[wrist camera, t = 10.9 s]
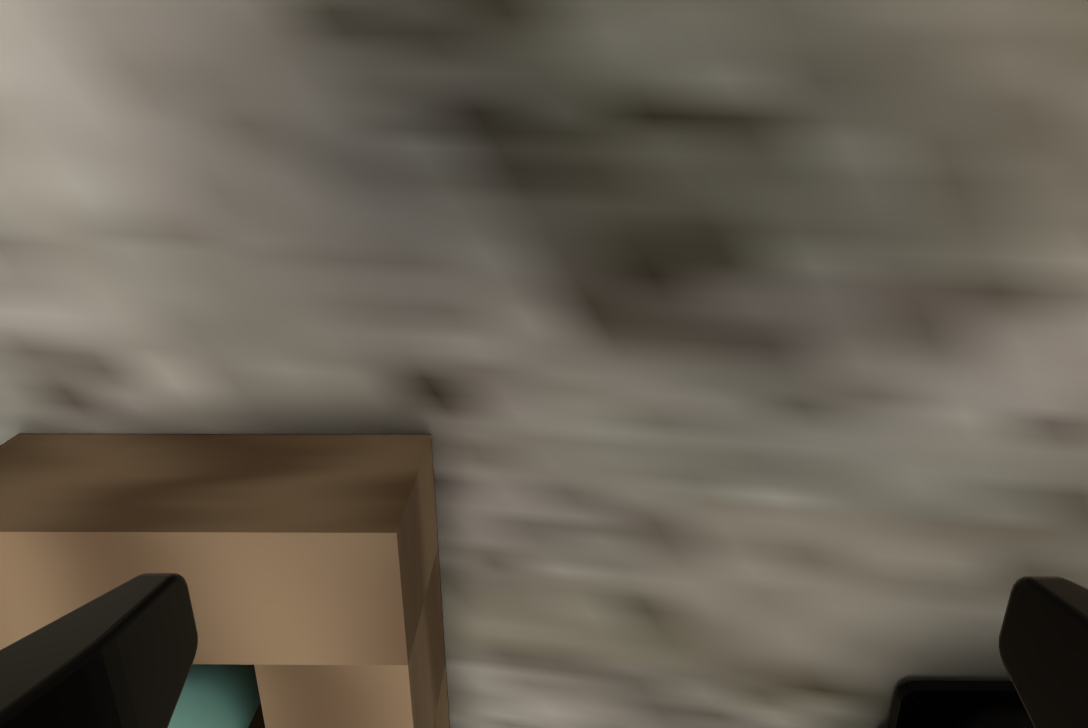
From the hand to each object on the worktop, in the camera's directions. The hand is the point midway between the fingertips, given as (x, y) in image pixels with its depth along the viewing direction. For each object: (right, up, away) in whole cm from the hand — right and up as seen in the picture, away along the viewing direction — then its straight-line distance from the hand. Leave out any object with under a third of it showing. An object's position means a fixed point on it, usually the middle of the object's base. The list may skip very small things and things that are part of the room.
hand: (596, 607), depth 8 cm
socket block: (-10, -5, +15) cm, 19 cm away
